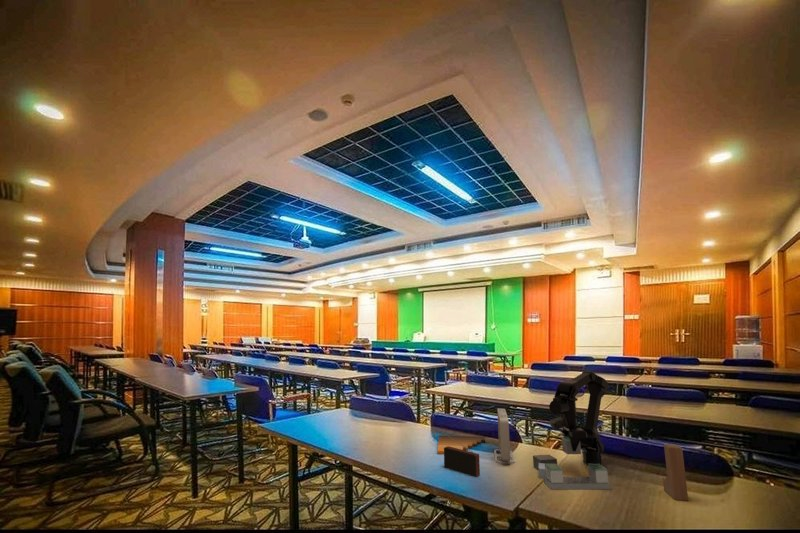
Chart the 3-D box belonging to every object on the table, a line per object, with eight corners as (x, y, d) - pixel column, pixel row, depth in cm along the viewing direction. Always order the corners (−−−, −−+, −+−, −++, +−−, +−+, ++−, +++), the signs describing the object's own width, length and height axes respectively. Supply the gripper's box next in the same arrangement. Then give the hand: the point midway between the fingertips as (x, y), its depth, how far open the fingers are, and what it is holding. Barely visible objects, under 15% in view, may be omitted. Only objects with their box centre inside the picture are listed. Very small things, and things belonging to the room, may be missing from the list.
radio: (480, 475, 160) (479, 437, 162) (476, 477, 158) (475, 439, 160) (444, 464, 172) (444, 430, 175) (440, 466, 170) (440, 431, 173)
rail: (601, 481, 153) (599, 463, 154) (610, 489, 146) (609, 469, 147) (544, 482, 153) (543, 463, 154) (550, 489, 146) (549, 469, 147)
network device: (515, 466, 170) (513, 419, 173) (495, 465, 171) (493, 419, 175) (511, 449, 194) (509, 408, 198) (493, 448, 196) (491, 407, 199)
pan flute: (484, 442, 208) (439, 440, 211) (484, 435, 208) (438, 434, 211) (489, 457, 183) (437, 455, 187) (489, 450, 184) (437, 448, 187)
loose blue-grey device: (551, 474, 161) (551, 464, 162) (552, 480, 155) (551, 469, 156) (539, 472, 163) (538, 462, 164) (539, 478, 157) (538, 468, 157)
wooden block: (663, 489, 145) (658, 440, 148) (676, 491, 144) (671, 440, 147) (674, 500, 136) (668, 446, 139) (688, 501, 135) (682, 447, 138)
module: (576, 450, 167) (575, 436, 168) (581, 454, 163) (580, 439, 164) (562, 450, 167) (561, 436, 168) (567, 454, 163) (566, 439, 164)
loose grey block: (550, 466, 171) (549, 454, 171) (557, 471, 165) (556, 458, 166) (533, 467, 169) (532, 455, 170) (540, 472, 163) (540, 460, 164)
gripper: (543, 407, 177) (545, 443, 175) (559, 416, 159) (562, 456, 156) (566, 407, 177) (569, 443, 175) (586, 416, 159) (589, 456, 156)
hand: (571, 449), depth 165 cm, fingers closed on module, 4 cm apart
